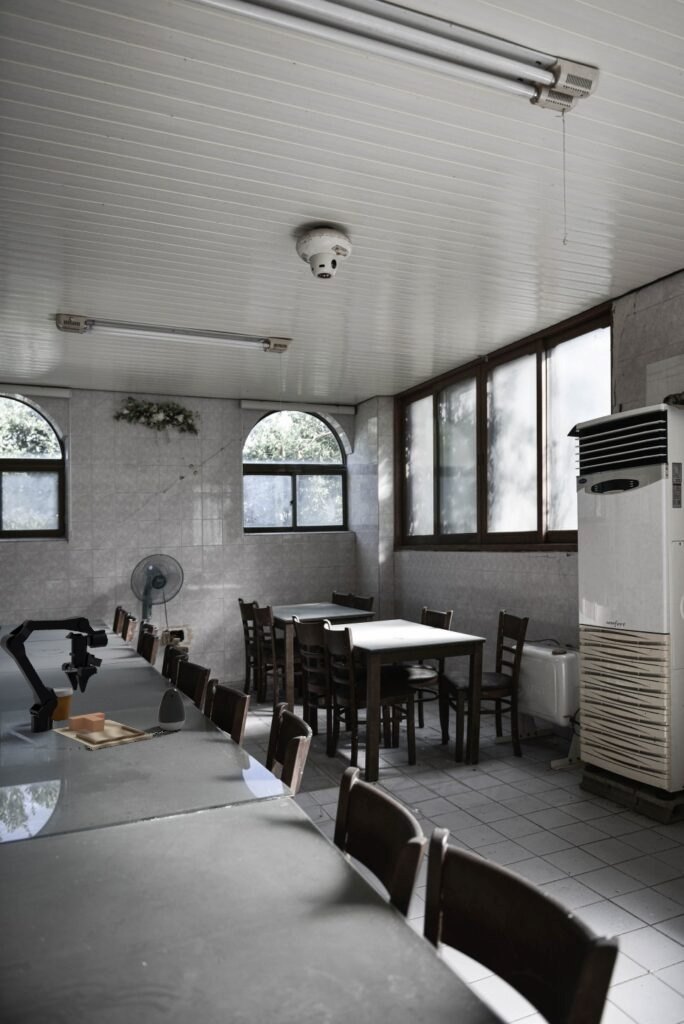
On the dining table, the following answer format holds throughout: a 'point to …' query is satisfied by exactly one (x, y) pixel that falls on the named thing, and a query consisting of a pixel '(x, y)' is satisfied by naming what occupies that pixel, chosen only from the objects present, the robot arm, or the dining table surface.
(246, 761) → the dining table surface
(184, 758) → the dining table surface
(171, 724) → the grey egg-shaped pod
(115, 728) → the board
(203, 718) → the dining table surface
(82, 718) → the t block
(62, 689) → the disposable coffee cup
